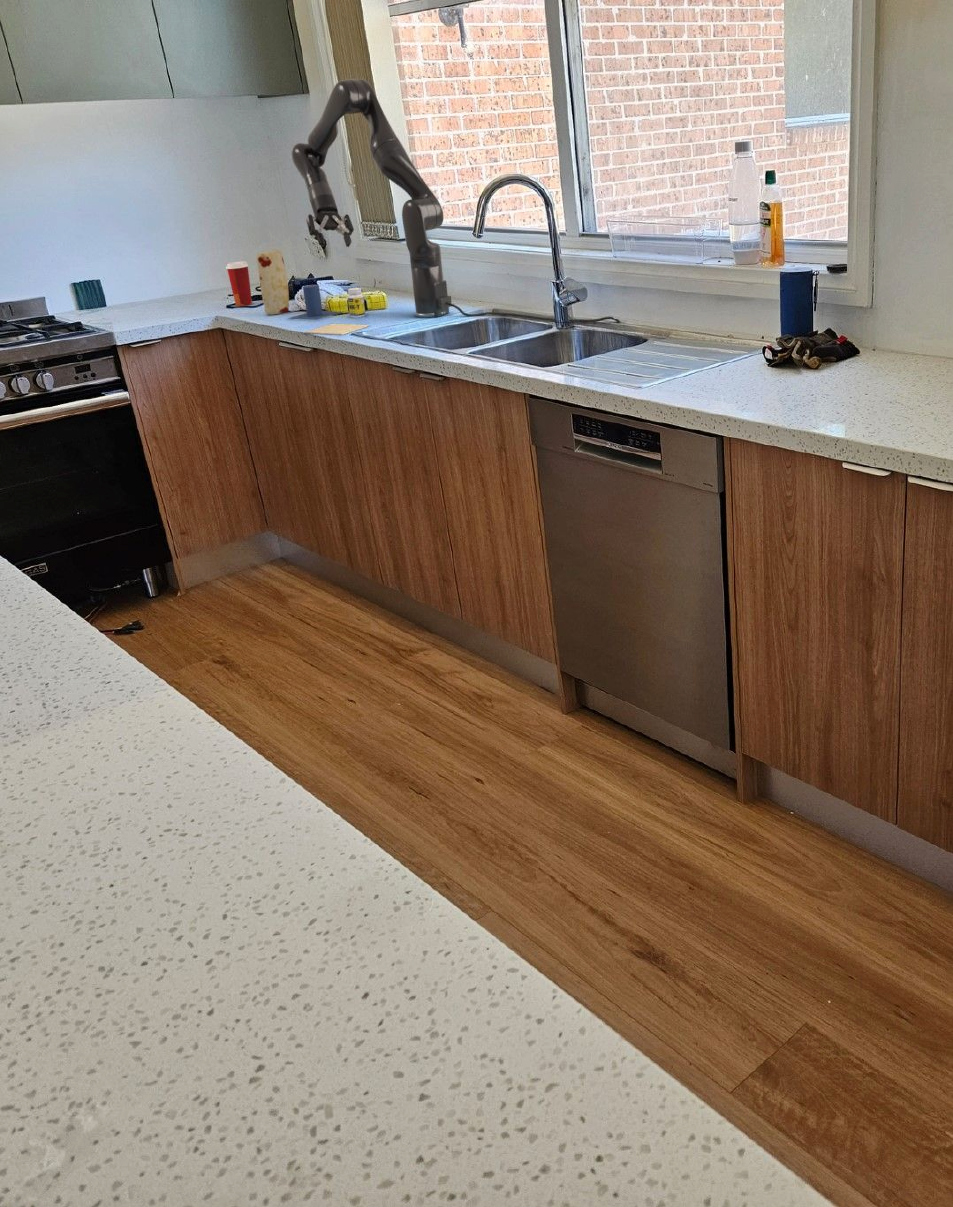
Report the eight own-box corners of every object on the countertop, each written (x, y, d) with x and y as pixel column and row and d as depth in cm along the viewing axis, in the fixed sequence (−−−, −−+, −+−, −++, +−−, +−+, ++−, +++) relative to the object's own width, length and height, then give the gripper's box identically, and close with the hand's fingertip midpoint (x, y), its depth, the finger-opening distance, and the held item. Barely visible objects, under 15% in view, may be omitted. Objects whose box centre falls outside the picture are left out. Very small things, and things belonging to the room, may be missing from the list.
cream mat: (368, 326, 316) (368, 325, 316) (342, 335, 308) (341, 333, 307) (332, 324, 324) (332, 323, 324) (305, 333, 315) (305, 332, 315)
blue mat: (341, 312, 341) (341, 312, 341) (316, 320, 332) (316, 319, 332) (313, 311, 347) (313, 310, 347) (288, 319, 339) (288, 318, 338)
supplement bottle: (347, 318, 331) (344, 290, 328) (353, 315, 335) (350, 287, 332) (362, 317, 330) (358, 289, 326) (367, 314, 334) (364, 287, 330)
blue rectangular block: (326, 313, 340) (322, 284, 336) (315, 317, 336) (311, 287, 333) (314, 313, 343) (310, 284, 339) (303, 316, 339) (299, 287, 335)
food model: (271, 317, 344) (261, 252, 336) (260, 316, 349) (249, 252, 340) (296, 311, 350) (286, 248, 342) (284, 310, 355) (274, 247, 346)
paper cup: (258, 301, 376) (251, 260, 370) (250, 306, 369) (243, 264, 363) (237, 303, 377) (229, 262, 371) (229, 307, 371) (221, 265, 365)
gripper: (304, 193, 332) (318, 239, 329) (346, 193, 339) (360, 238, 336) (297, 208, 339) (311, 253, 336) (339, 208, 345) (353, 252, 342)
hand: (336, 245), depth 336 cm, fingers open, 8 cm apart
